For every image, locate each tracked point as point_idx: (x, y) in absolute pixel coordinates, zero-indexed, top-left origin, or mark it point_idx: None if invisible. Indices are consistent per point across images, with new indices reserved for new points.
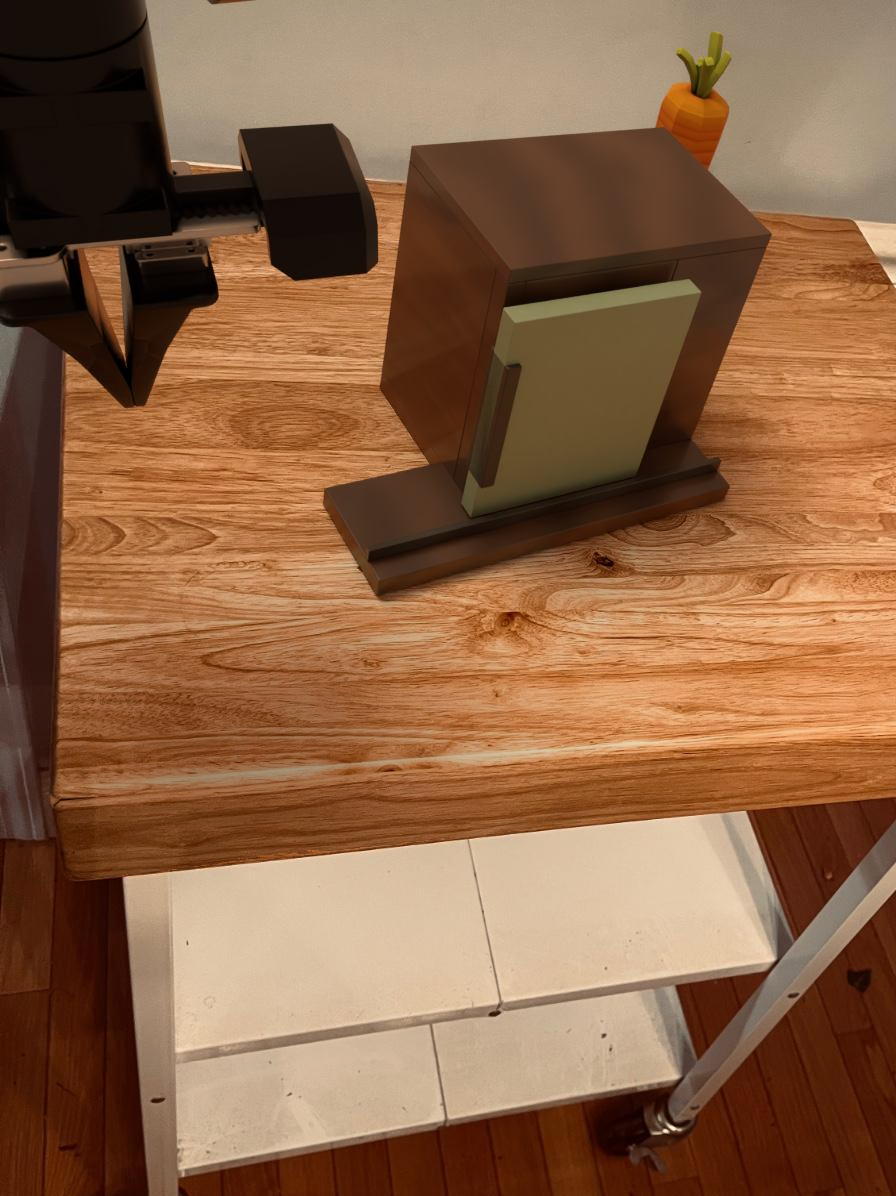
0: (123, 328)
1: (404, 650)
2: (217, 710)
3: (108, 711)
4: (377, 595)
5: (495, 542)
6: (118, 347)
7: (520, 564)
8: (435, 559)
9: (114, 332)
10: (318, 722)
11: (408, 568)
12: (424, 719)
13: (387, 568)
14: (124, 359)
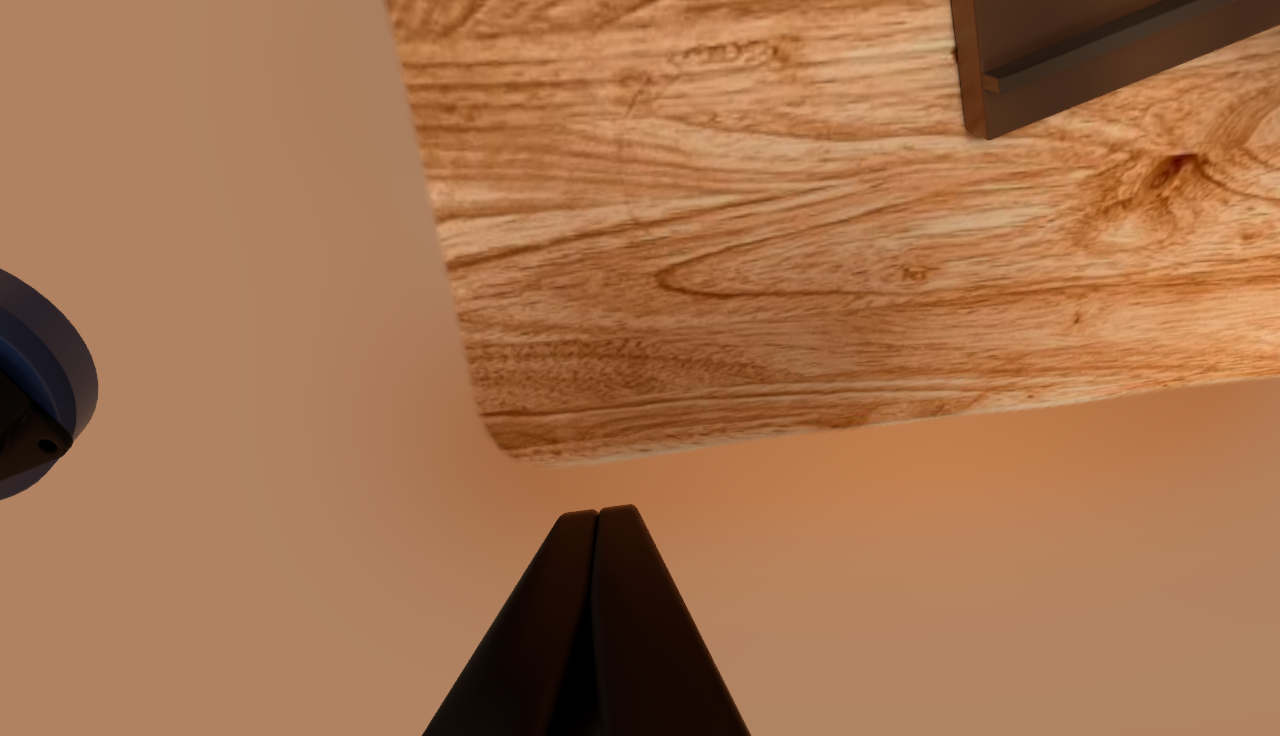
0: (599, 719)
1: (972, 246)
2: (678, 363)
3: (528, 372)
4: (967, 129)
5: (1261, 16)
6: (578, 729)
7: None
8: (1116, 75)
9: (556, 721)
10: (814, 375)
11: (1054, 102)
12: (959, 363)
13: (1015, 106)
14: (589, 626)
